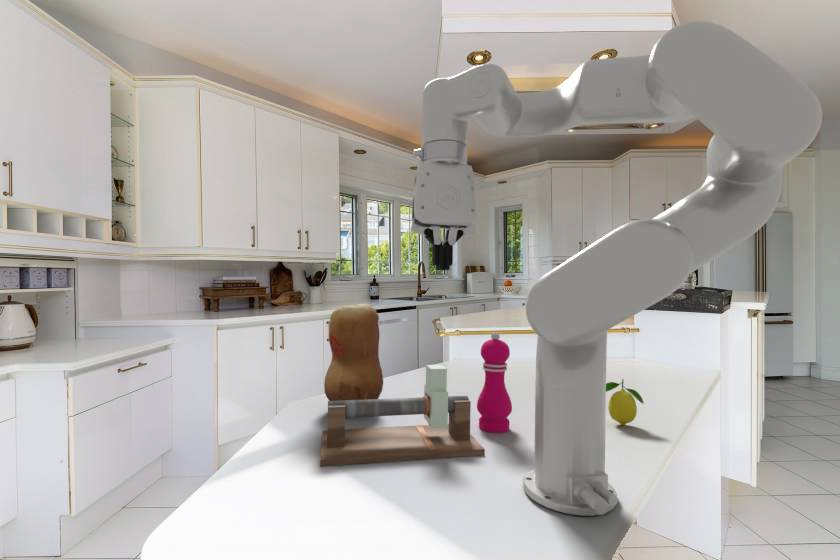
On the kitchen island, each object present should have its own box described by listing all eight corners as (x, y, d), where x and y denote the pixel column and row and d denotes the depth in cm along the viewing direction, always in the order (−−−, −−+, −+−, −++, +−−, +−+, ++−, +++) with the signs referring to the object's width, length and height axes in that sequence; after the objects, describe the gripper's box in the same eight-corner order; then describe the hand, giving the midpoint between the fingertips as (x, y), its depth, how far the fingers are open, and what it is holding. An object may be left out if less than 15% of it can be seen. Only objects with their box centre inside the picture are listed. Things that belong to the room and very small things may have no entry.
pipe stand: (484, 454, 73) (485, 405, 73) (320, 466, 67) (321, 412, 67) (460, 427, 87) (461, 386, 87) (322, 435, 81) (323, 390, 81)
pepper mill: (511, 435, 83) (513, 334, 83) (475, 432, 84) (476, 333, 85) (511, 423, 90) (512, 330, 90) (477, 421, 92) (479, 329, 92)
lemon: (598, 422, 92) (599, 377, 92) (616, 419, 95) (617, 375, 95) (626, 432, 86) (626, 383, 86) (644, 428, 89) (645, 381, 89)
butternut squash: (313, 409, 98) (316, 302, 98) (361, 399, 107) (363, 302, 107) (345, 424, 88) (347, 305, 88) (395, 412, 96) (397, 304, 97)
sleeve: (447, 427, 76) (448, 369, 76) (431, 428, 75) (432, 370, 75) (438, 416, 82) (439, 363, 82) (423, 417, 81) (424, 363, 82)
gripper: (403, 148, 64) (401, 268, 64) (495, 155, 67) (493, 270, 67) (395, 162, 71) (394, 269, 71) (479, 168, 74) (477, 271, 74)
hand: (442, 269), depth 69 cm, fingers closed
